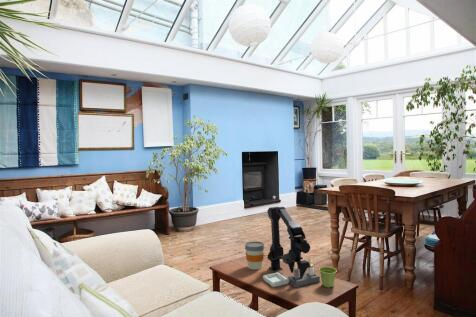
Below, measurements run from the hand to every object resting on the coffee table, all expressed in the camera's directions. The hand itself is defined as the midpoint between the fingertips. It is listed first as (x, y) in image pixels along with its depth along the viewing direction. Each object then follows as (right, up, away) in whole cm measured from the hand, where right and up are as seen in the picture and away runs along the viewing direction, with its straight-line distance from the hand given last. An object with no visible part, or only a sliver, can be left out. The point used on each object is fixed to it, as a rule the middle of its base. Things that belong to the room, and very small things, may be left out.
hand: (296, 275), depth 175 cm
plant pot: (+17, -4, -3) cm, 18 cm away
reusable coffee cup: (-22, -5, +28) cm, 35 cm away
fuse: (+9, -4, +4) cm, 11 cm away
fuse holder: (+5, -4, +2) cm, 7 cm away
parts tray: (-11, -5, +4) cm, 13 cm away
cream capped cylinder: (0, -5, 0) cm, 4 cm away
